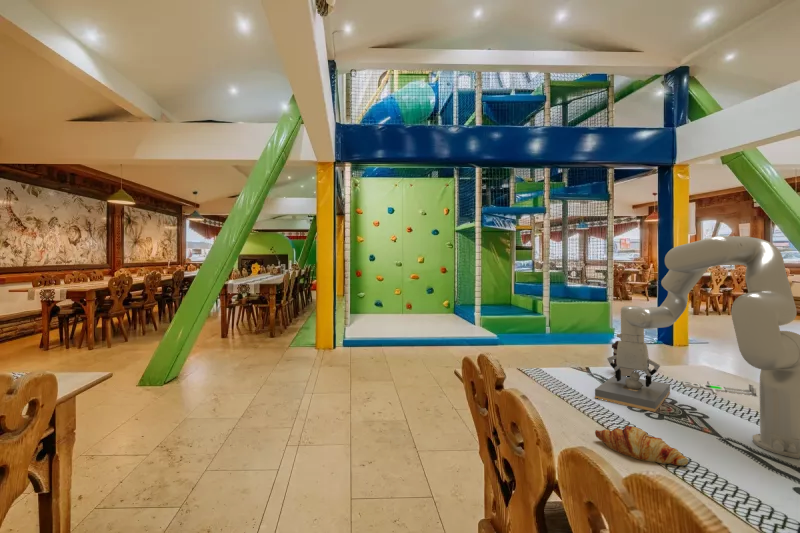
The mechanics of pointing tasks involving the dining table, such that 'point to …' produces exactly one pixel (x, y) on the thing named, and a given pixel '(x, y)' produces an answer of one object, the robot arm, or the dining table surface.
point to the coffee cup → (623, 370)
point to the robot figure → (720, 388)
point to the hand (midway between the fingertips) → (632, 383)
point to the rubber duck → (633, 381)
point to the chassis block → (633, 393)
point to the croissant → (640, 445)
